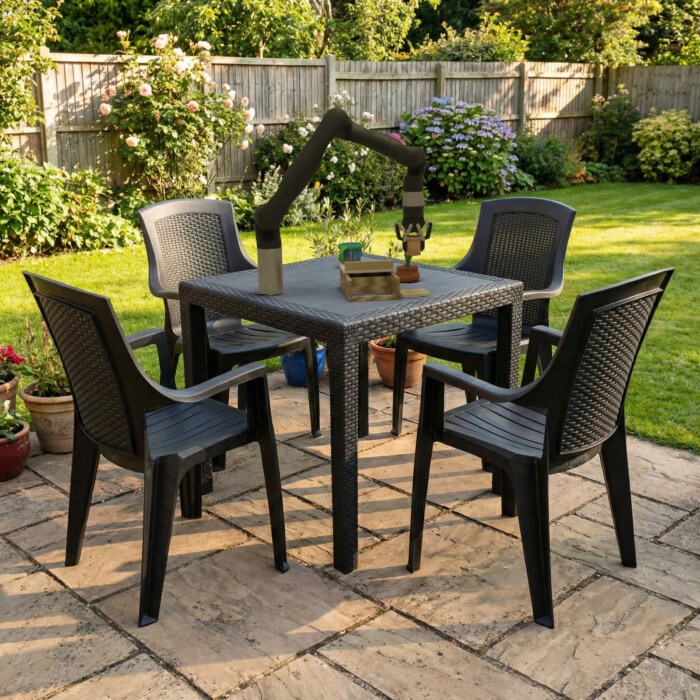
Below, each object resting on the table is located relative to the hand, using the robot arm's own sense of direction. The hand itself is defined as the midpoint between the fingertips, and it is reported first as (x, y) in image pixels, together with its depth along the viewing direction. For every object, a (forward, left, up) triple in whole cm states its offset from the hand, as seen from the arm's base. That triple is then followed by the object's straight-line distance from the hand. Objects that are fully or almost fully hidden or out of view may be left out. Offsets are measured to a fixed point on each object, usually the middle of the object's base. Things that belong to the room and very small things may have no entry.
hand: (413, 251), depth 317 cm
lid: (-15, +12, -8) cm, 21 cm away
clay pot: (0, 0, -1) cm, 1 cm away
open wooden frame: (-16, +6, -16) cm, 23 cm away
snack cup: (-16, +61, -16) cm, 65 cm away
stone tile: (0, 0, -16) cm, 16 cm away
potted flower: (+1, +25, -16) cm, 30 cm away
